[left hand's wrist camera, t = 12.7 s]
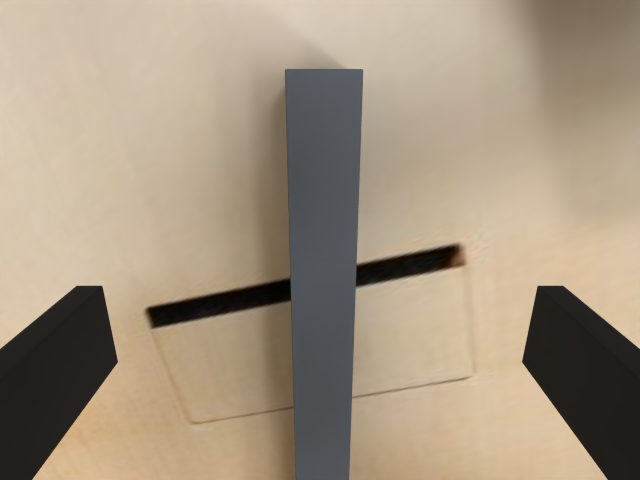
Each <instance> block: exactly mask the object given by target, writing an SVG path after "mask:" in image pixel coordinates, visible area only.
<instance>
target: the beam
mask: <svg viewBox="0 0 640 480" xmlns="http://www.w3.org/2000/svg"><path fill="white" fill-rule="evenodd" d="M285 85H286V123H287V161H288V199H289V237H290V275H291V313H292V351H293V389H294V427H295V465H296V480H349V461H350V432H351V403H352V375H353V346H354V317H355V288H356V259H357V230H358V201H359V173H360V144H361V115H362V86H363V70H362V69H286V70H285Z"/></svg>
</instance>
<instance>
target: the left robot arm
mask: <svg viewBox="0 0 640 480" xmlns="http://www.w3.org/2000/svg"><path fill="white" fill-rule="evenodd" d="M117 363H118V360H117V355H116V350H115V346H114V341H113V336H112V331H111V326H110V321H109V316H108V311H107V307H106V302H105V297H104V292H103V287H102V286H76V287H75V288H74V289H72V290H71V291H70V292H69V293H68V294H66V295H65V296H64V297H63V298H62V299H60V300H59V301H58V302H57V303H55V304H54V305H53V306H52V307H51V308H49V309H48V310H47V311H46V312H45V313H43V314H42V315H41V316H40V317H39V318H37V319H36V320H35V321H34V322H32V323H31V324H30V325H29V326H28V327H26V328H25V329H24V330H23V331H22V332H20V333H19V334H18V335H17V336H16V337H14V338H13V339H12V340H11V341H9V342H8V343H7V344H6V345H5V346H3V347H2V348H1V349H0V480H32V479H33V478H34V476H35V475H36V474H37V472H38V471H39V470H40V468H41V467H42V465H43V464H44V463H45V461H46V460H47V459H48V457H49V456H50V454H51V453H52V452H53V450H54V449H55V448H56V446H57V445H58V443H59V442H60V441H61V439H62V438H63V437H64V435H65V434H66V433H67V431H68V430H69V428H70V427H71V426H72V424H73V423H74V422H75V420H76V419H77V417H78V416H79V415H80V413H81V412H82V411H83V409H84V408H85V406H86V405H87V404H88V402H89V401H90V400H91V398H92V397H93V396H94V394H95V393H96V391H97V390H98V389H99V387H100V386H101V385H102V383H103V382H104V380H105V379H106V378H107V376H108V375H109V374H110V372H111V371H112V369H113V368H114V367H115V365H116V364H117ZM522 363H523V364H524V365H525V367H526V368H527V369H528V371H529V372H530V374H531V375H532V376H533V378H534V379H535V380H536V382H537V383H538V385H539V386H540V387H541V389H542V390H543V391H544V393H545V394H546V396H547V397H548V398H549V400H550V401H551V402H552V404H553V405H554V406H555V408H556V409H557V411H558V412H559V413H560V415H561V416H562V417H563V419H564V420H565V422H566V423H567V424H568V426H569V427H570V428H571V430H572V431H573V433H574V434H575V435H576V437H577V438H578V439H579V441H580V442H581V443H582V445H583V446H584V448H585V449H586V450H587V452H588V453H589V454H590V456H591V457H592V459H593V460H594V461H595V463H596V464H597V465H598V467H599V468H600V470H601V471H602V472H603V474H604V475H605V476H606V478H607V479H608V480H640V349H639V348H638V347H637V346H635V345H634V344H633V343H632V342H631V341H629V340H628V339H627V338H626V337H624V336H623V335H622V334H621V333H620V332H618V331H617V330H616V329H615V328H614V327H612V326H611V325H610V324H609V323H608V322H606V321H605V320H604V319H603V318H601V317H600V316H599V315H598V314H597V313H595V312H594V311H593V310H592V309H591V308H589V307H588V306H587V305H586V304H585V303H583V302H582V301H581V300H580V299H578V298H577V297H576V296H575V295H574V294H572V293H571V292H570V291H569V290H568V289H566V288H565V287H564V286H538V287H537V292H536V297H535V302H534V307H533V311H532V316H531V321H530V326H529V331H528V336H527V341H526V346H525V350H524V355H523V360H522Z"/></svg>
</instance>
